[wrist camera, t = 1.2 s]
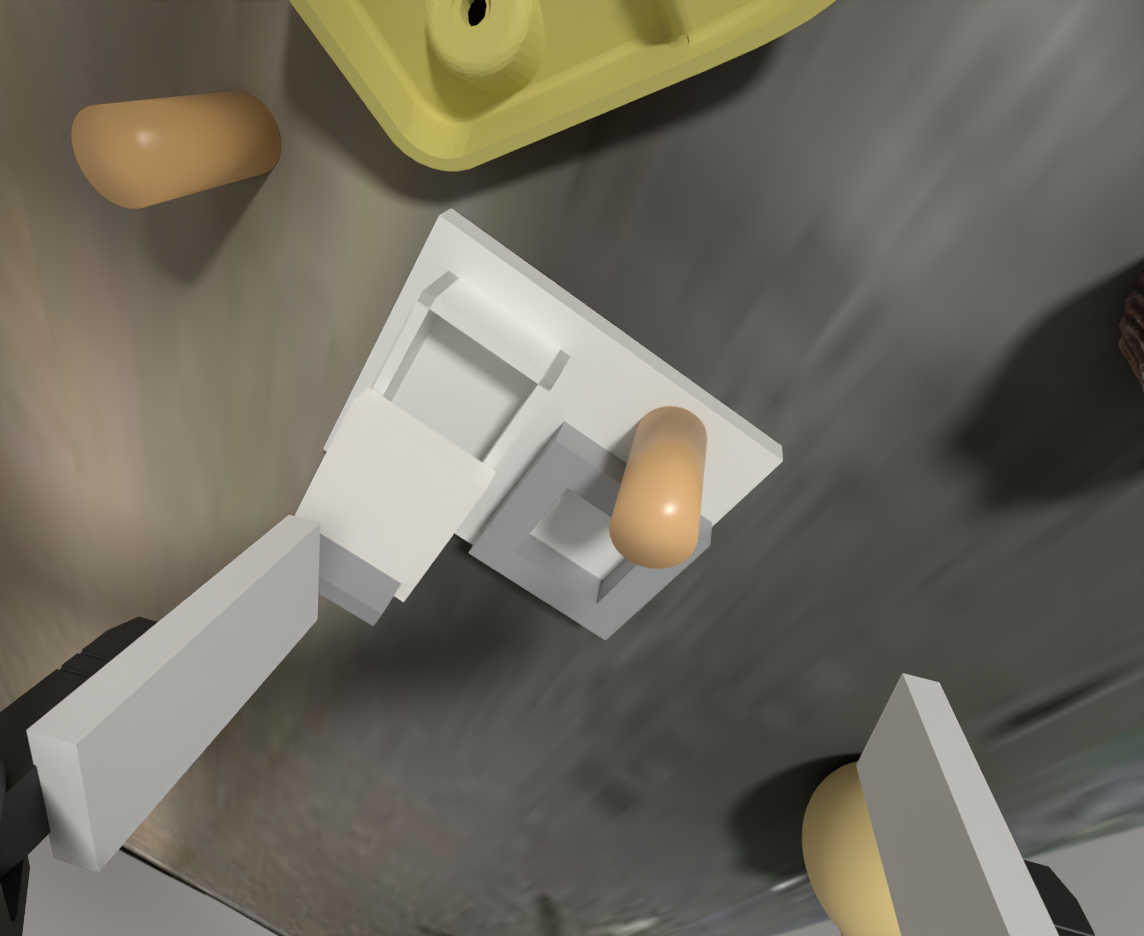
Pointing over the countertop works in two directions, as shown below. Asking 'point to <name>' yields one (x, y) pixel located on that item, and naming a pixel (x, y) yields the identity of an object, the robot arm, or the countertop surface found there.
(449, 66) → the plastic component
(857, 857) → the sculpture
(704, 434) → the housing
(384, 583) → the lid
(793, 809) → the countertop surface
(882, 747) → the robot arm
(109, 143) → the peg
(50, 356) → the countertop surface
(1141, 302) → the cupcake
